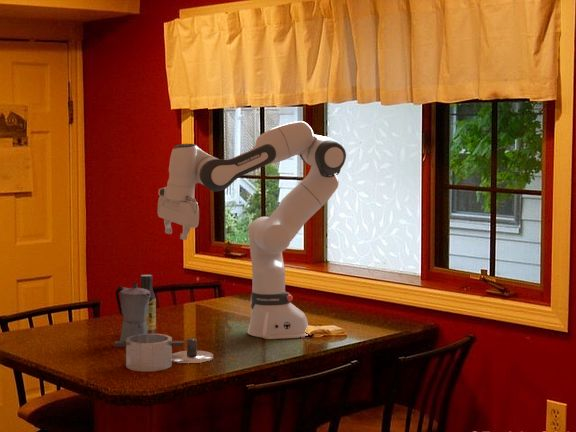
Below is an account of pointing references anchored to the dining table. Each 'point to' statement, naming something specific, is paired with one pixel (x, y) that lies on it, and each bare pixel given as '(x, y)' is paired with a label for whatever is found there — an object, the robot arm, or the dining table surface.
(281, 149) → the robot arm
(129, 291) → the moka pot
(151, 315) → the sauce bottle
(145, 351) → the pot
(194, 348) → the lid
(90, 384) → the dining table surface
